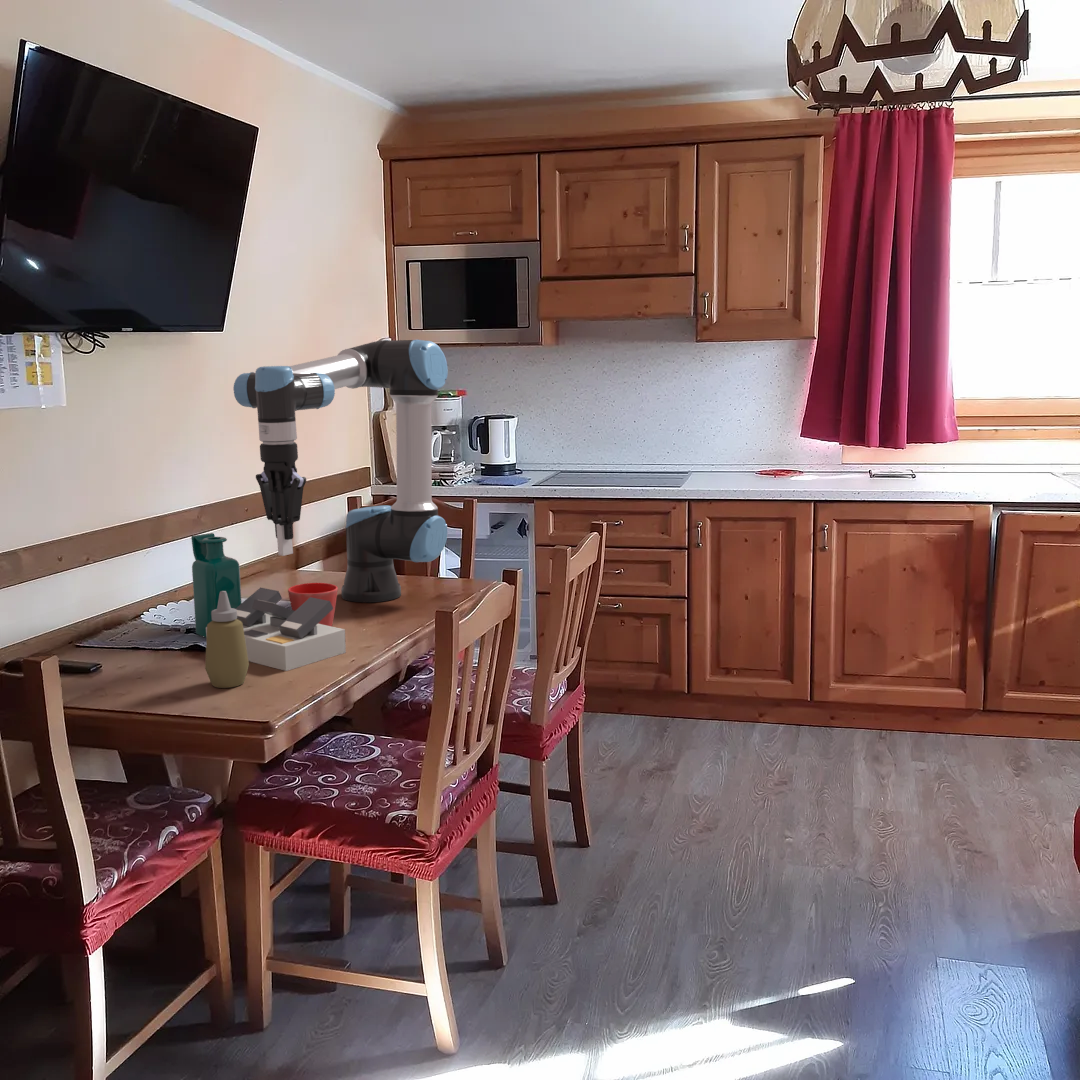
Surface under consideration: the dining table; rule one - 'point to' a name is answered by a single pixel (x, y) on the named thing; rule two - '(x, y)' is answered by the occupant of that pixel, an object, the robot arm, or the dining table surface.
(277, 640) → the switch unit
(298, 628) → the rocker
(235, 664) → the squeeze bottle
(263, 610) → the rocker
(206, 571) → the pitcher
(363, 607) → the dining table surface
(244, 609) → the rocker
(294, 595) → the flower pot
